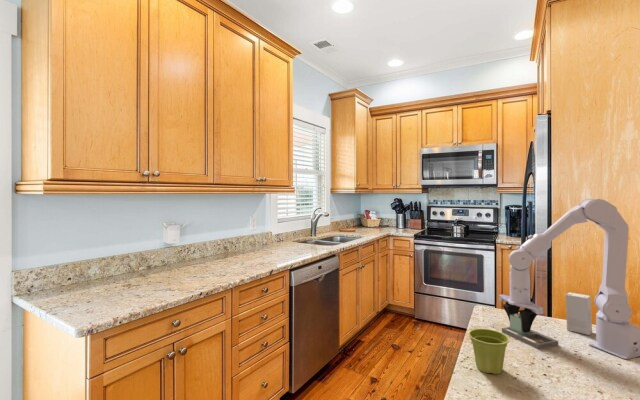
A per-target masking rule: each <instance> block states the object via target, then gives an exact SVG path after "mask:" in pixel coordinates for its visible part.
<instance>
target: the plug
mask: <svg viewBox="0 0 640 400" xmlns="http://www.w3.org/2000/svg"><path fill="white" fill-rule="evenodd" d="M509 327H510V330H511V331H513V332H516V333H518V334H520V335H525V334H530V332H526V333H525V332H523V328H522V319H521V315H520V312H519V313H517V314H511V315H510V321H509Z"/></svg>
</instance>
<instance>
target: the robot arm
mask: <svg viewBox="0 0 640 400" xmlns="http://www.w3.org/2000/svg"><path fill="white" fill-rule="evenodd" d="M589 221H591V222H593V223H595V224H596V225H597V226H598V227H599V228H601V229H602V230H603V231H604V241H603V242H604V243H603V244H604V245H603V260H602V275H601V283H600V285H599V287H598V293H597V294H596V295H595V297H594V300H593V302H594V304H595V306H596V308H597V309H598V310H597V312H596V313H595V335H596V336H595V339H596V340H595V341H593V342H589V343H588V346H591V347H593V348H595V349H599V350H600V351H603V352H606V353H608V354H610V355H614V356H616V357H619V358H621V359H623V360H629V359H633V358H636V357H637V358H638V357H640V327H639V326H638V325H635V324H633V323H632V322H630V320H631V317H632V314H633V311H632V308H631V306H630V305H629V297H628V294H627V290H626V278H627V277H626V275H627V274H626V273H627V261H628V244H629V243H628V242H629V228H630V227H629V224H628V223H627V221H626V220H625V219H624V218H623V216H622V215H621V214H620V212H619V211H618V208H617V206H616V205H613V204H612V203H611V202H609V201H607V200H605V199H601V198H598V199H597V198H587V199H584V200H582V201H581V202H580V203H579V204H576V205H575V206H573V207H572V208H570V209H569V210H568V211H566V212H565V213H564V214H563V215H562V216H560V218H558V219H557V220H556V221H555V222H554V223H553V224H552V225H550V226H549V227H548V228H547V229H546V230H545V231H544V232H543V233H534V234H533V235H532V234H530V235H528V236H527V238H528V239H527V240H525V242H523V243H522V244H521V245H517V246H516V249H514V250H512V251H511V252H510V253H509V255H508V261H509V264H510V265H509V279H508V281H509V283H508V284H509V295H508V294H507V295H506V294H499V296H498V301H500V302H505V303H504V304H502V308H503V309H504V311H505V313H506V315H507V317H508V321H509V322H510V315H511V314H517V313H520V315H521V319H522V328H523V332H525V333H526V332H530V329H531V330H532V325H533V323H534V320H535V319H536V317H537V316H538V315H544V307H543V306H540V305H538V304H536V303H534V302H532V301H531V274H530V267H531V265H532V261H536V260H537V259H538V258H539V257H541V256H542V255H543V254H544V253H546V252H547V251H548V250H549V249H550V248H552V241H554V239H556V238H558V237H559V236H560V235H562V234H564V232H566V231H567V230H568V229H570V228H571V227H573V226H574V225H577V224H583V223H588V222H589ZM520 308H521V309H520Z"/></svg>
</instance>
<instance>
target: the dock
mask: <svg viewBox="0 0 640 400" xmlns="http://www.w3.org/2000/svg"><path fill="white" fill-rule="evenodd" d="M501 333H503V334H505V335H506V336H508V337H509V336H510V337H512V338H513V339H516V340H518V341H521V342H522V343H525V344H527V345H529V346H531V347H533V348H535V349H537V350H540V349H546V348H550V347H554V346H559V340H557V339H554V338H552V337H550V336H547V335H544V334H543V333H540V332H538V331H535V330H533V329H532V328H531V329H530V334H525V335H520V334H518V333H516V332H513V331H511V330H510V326H508V327H502V328H501ZM535 338H537V339H539V340H542V341H543V342H537V341H535V340H533V339H535Z"/></svg>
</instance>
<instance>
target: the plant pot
mask: <svg viewBox="0 0 640 400" xmlns="http://www.w3.org/2000/svg"><path fill="white" fill-rule="evenodd" d="M468 336H469V339H470V341H471V343H472V347H473V354H474V360H475V365H476V369H478V370H479V371H481V372H483V373H485V374H493V375H499V374H501V373H503V369H504V361H505V355H506V348H507V346H508V343H509V342H510V337H509V335H507V334H505V333H503V332H502V331H501V332H500V331H498V330H493V329H488V328H474V329H471V330H470V331H469V332H468Z"/></svg>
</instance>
